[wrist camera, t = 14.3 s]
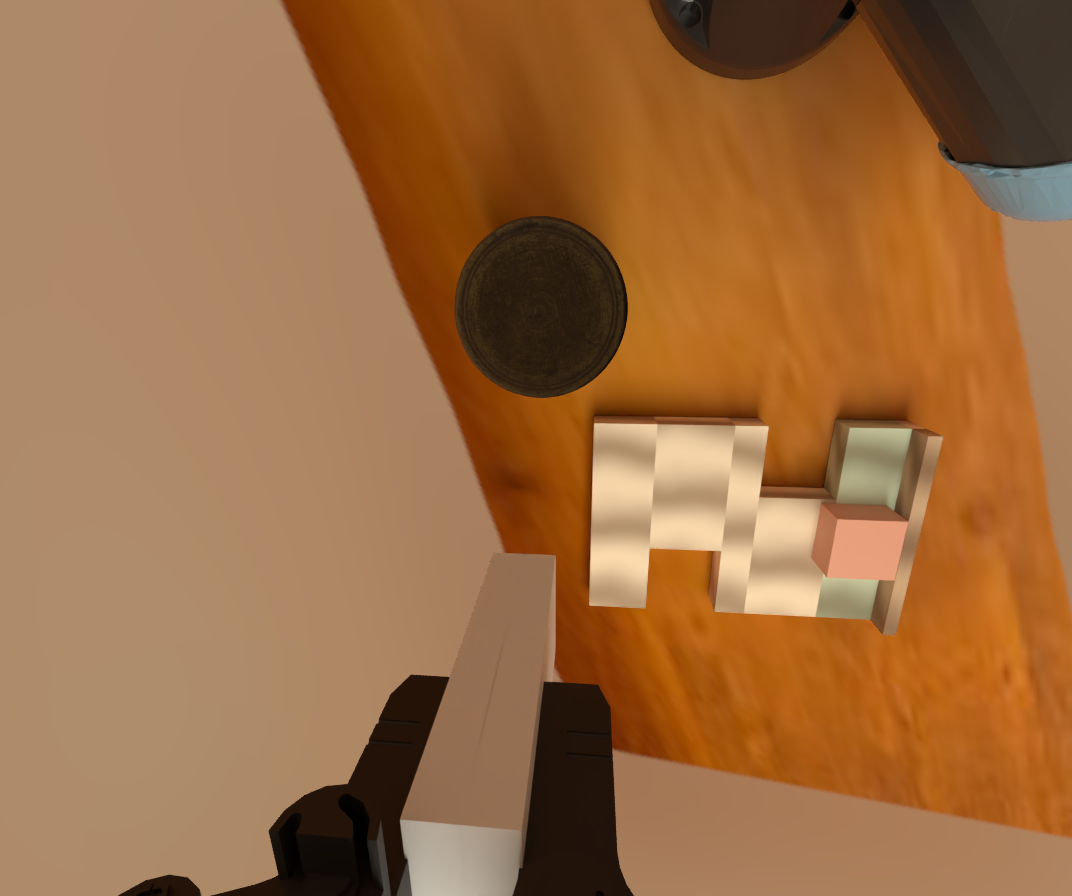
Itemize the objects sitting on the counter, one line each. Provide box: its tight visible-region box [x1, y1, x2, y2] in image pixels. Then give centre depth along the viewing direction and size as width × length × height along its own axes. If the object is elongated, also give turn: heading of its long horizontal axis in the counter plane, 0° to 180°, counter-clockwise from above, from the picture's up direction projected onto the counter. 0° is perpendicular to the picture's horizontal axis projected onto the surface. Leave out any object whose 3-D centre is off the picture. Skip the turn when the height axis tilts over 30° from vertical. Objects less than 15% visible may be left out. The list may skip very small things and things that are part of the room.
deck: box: [589, 416, 943, 635], centre depth 44 cm, size 17×25×4 cm
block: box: [811, 503, 908, 581], centre depth 41 cm, size 5×5×3 cm
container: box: [455, 216, 628, 398], centre depth 33 cm, size 9×9×18 cm
